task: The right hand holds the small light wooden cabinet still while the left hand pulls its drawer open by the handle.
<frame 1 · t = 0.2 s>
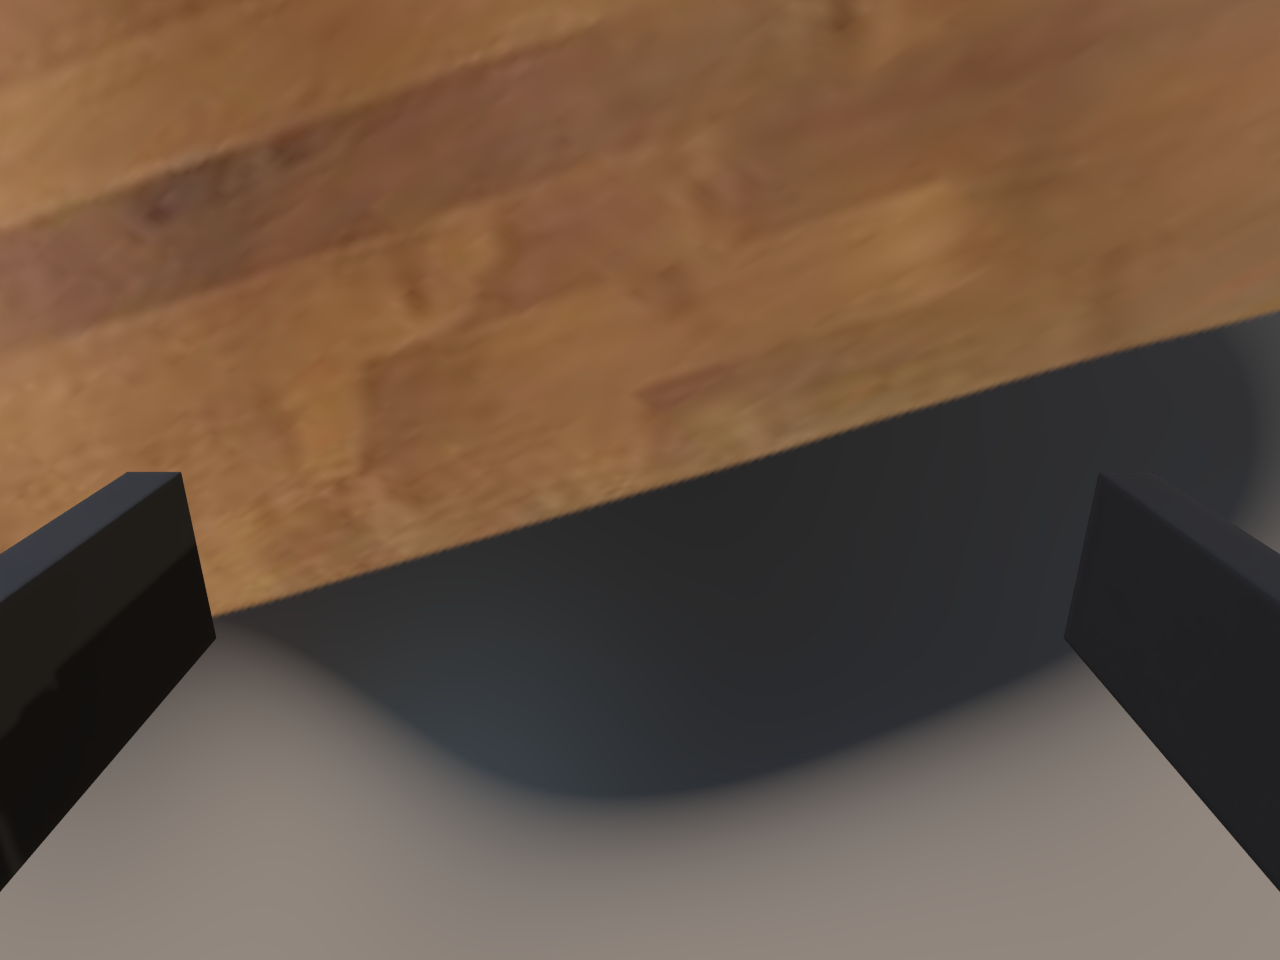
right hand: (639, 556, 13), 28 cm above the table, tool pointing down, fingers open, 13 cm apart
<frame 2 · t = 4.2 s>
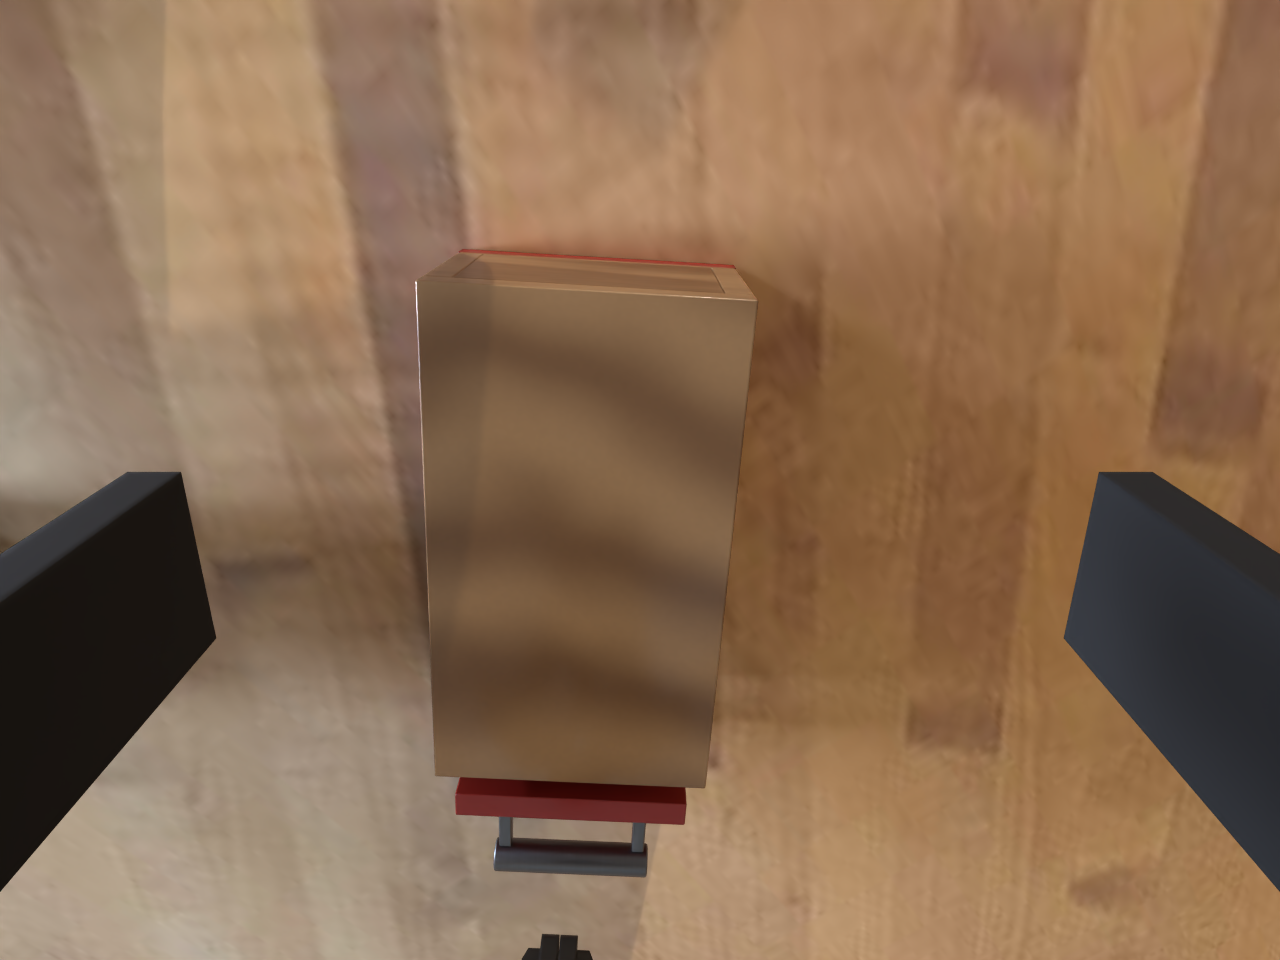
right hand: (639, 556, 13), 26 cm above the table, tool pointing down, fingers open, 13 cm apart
drawer: (579, 647, 38), point 4 cm above the table, slide at 1.8 cm
cabinet: (589, 483, 40), on the table
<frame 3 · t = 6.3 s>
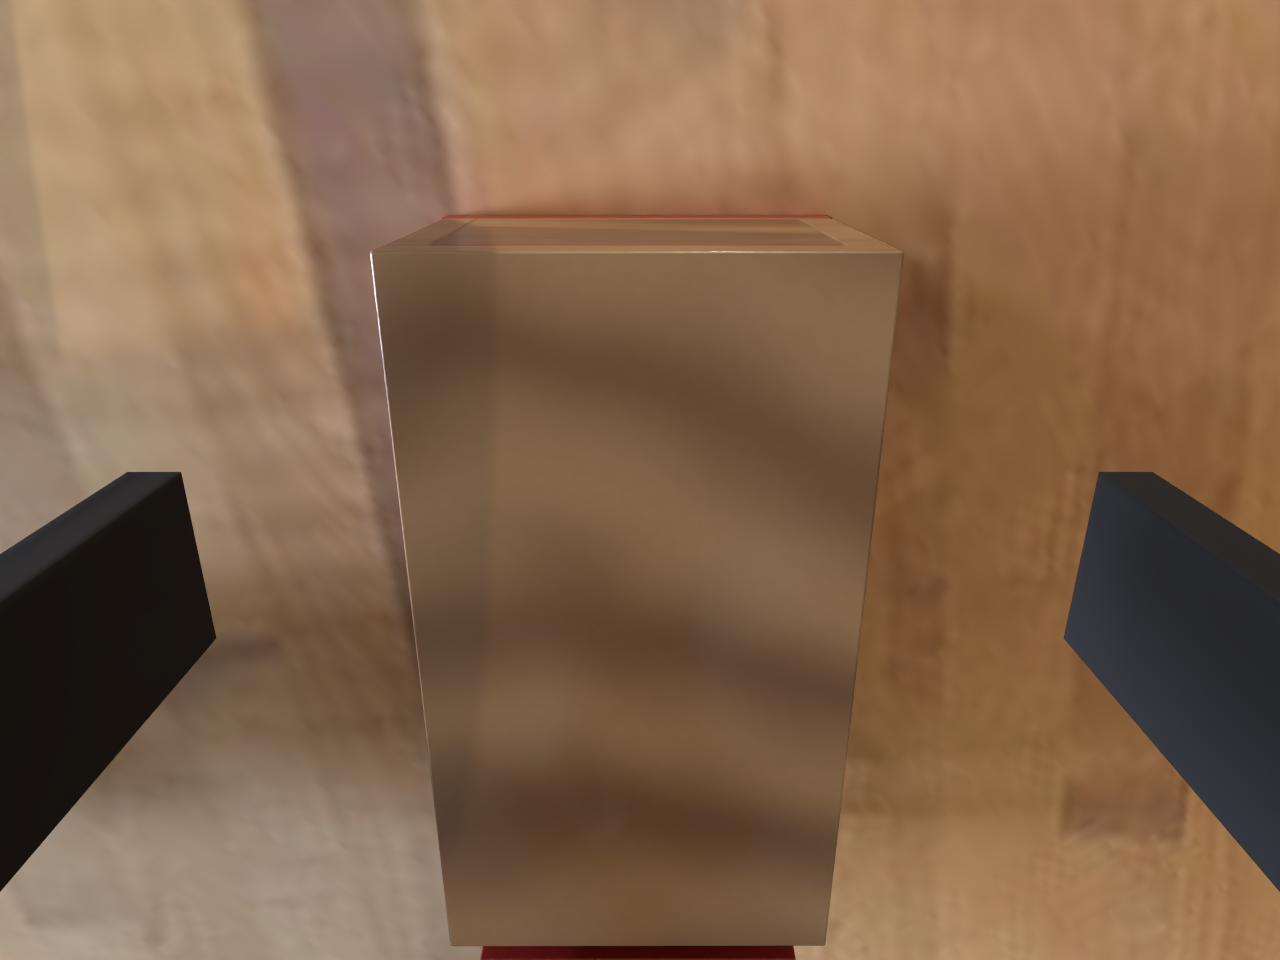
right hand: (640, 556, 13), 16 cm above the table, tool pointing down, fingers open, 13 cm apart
drawer: (637, 749, 28), point 4 cm above the table, slide at 1.8 cm
cabinet: (637, 524, 30), on the table
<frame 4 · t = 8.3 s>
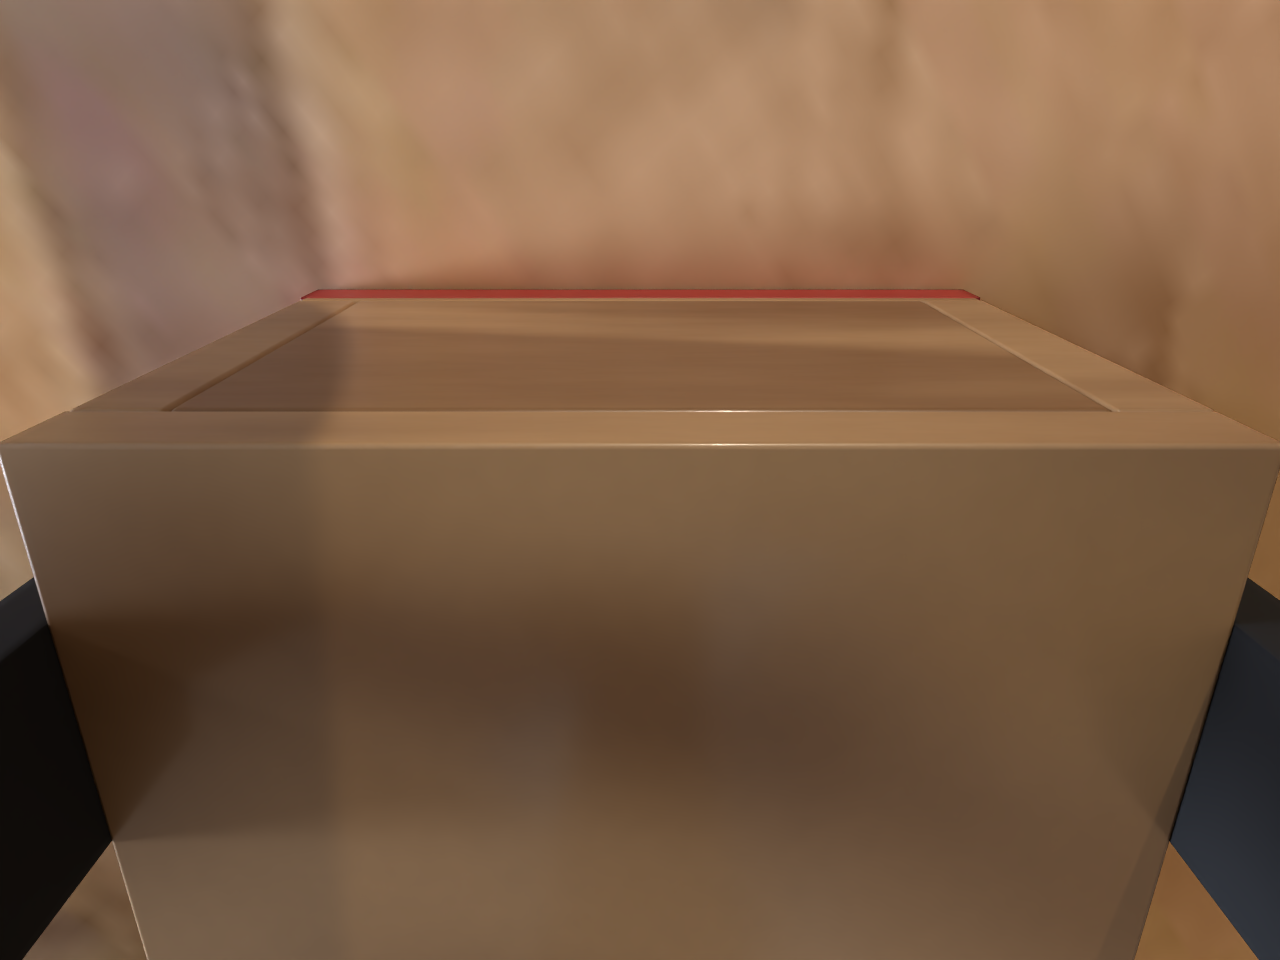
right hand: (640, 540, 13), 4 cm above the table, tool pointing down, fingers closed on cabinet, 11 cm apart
cabinet: (640, 760, 19), on the table, touching right hand
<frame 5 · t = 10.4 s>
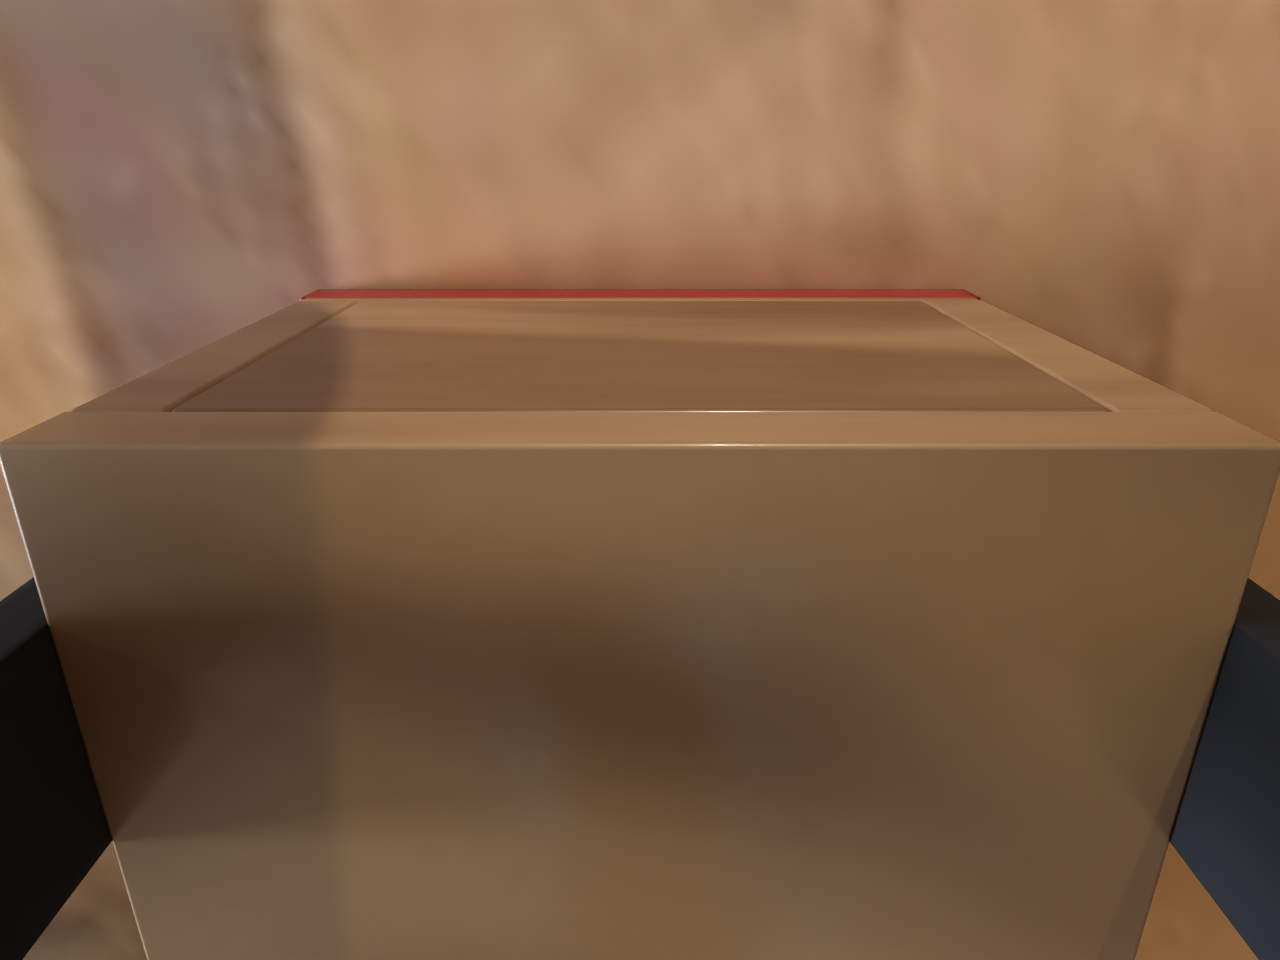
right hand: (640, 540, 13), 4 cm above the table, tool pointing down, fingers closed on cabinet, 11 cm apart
cabinet: (640, 760, 19), on the table, touching right hand
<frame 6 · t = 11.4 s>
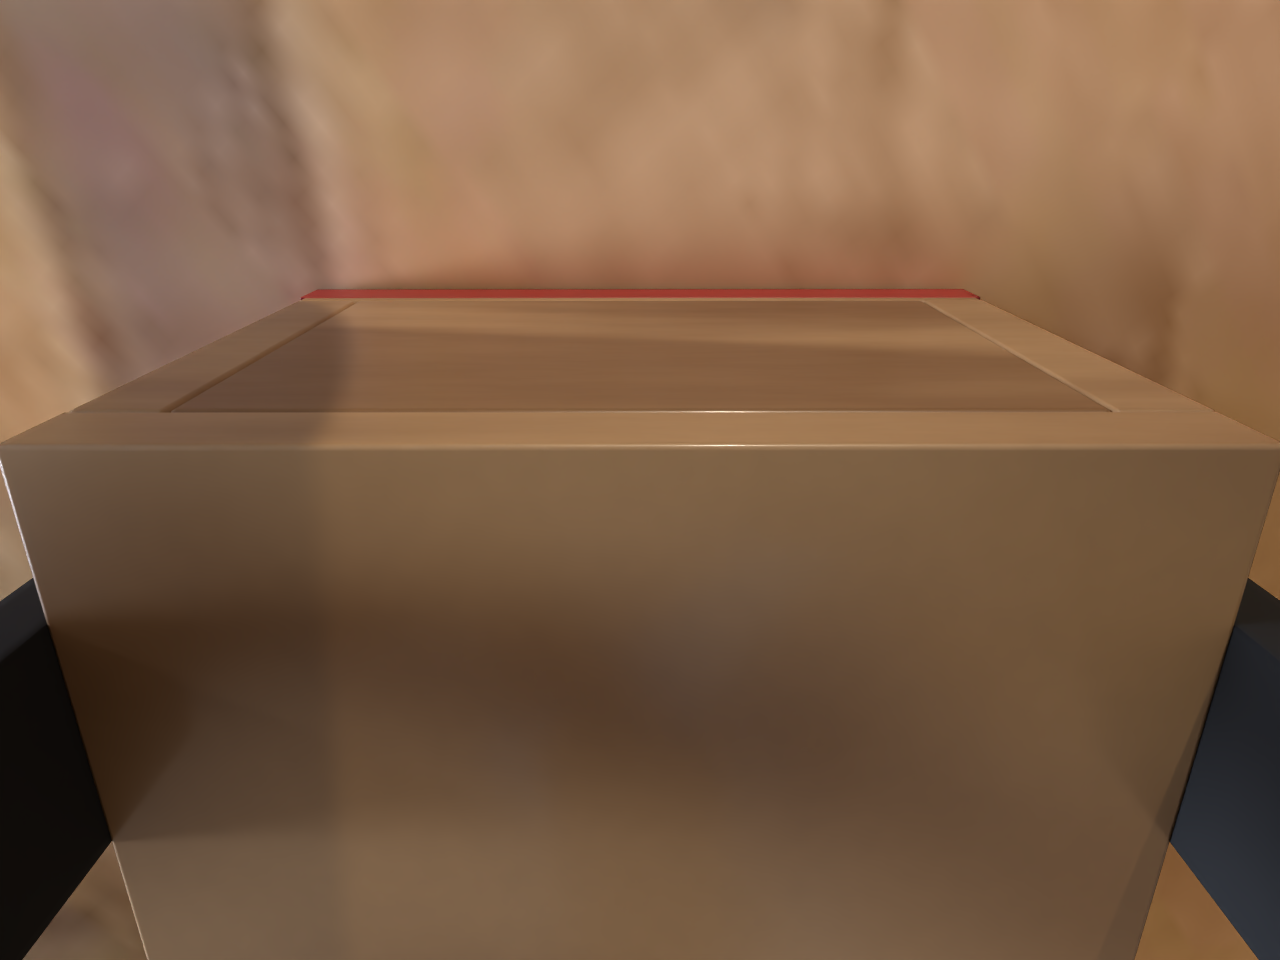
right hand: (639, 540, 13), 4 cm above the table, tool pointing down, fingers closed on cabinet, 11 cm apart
cabinet: (640, 759, 19), on the table, touching right hand
when the right hand's fingers open (4 cm above the table, at t = 13.0 s): cabinet stays where it is, on the table.
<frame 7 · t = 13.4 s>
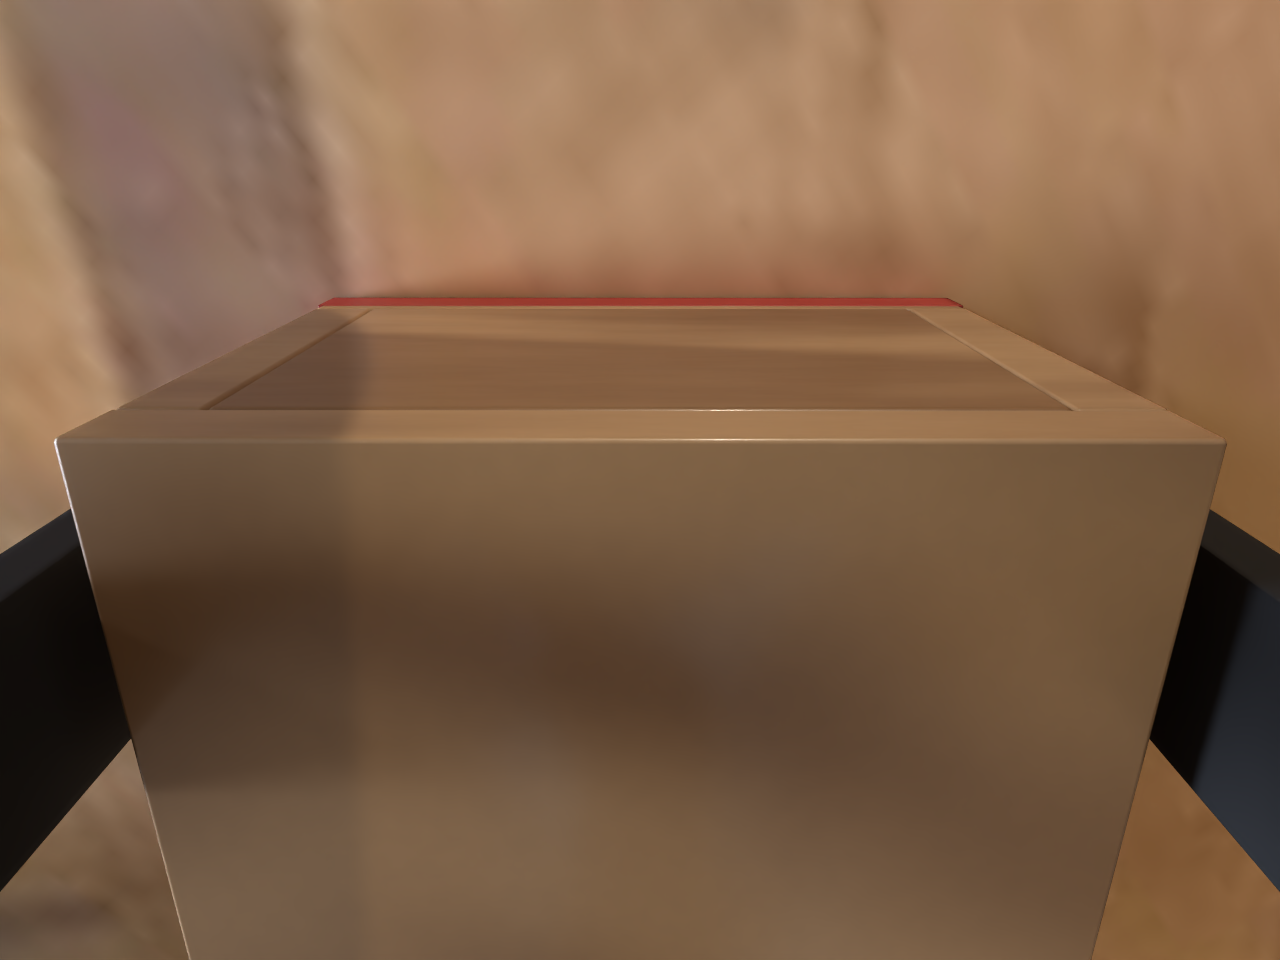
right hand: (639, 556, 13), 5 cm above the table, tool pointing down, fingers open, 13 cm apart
cabinet: (640, 750, 20), on the table
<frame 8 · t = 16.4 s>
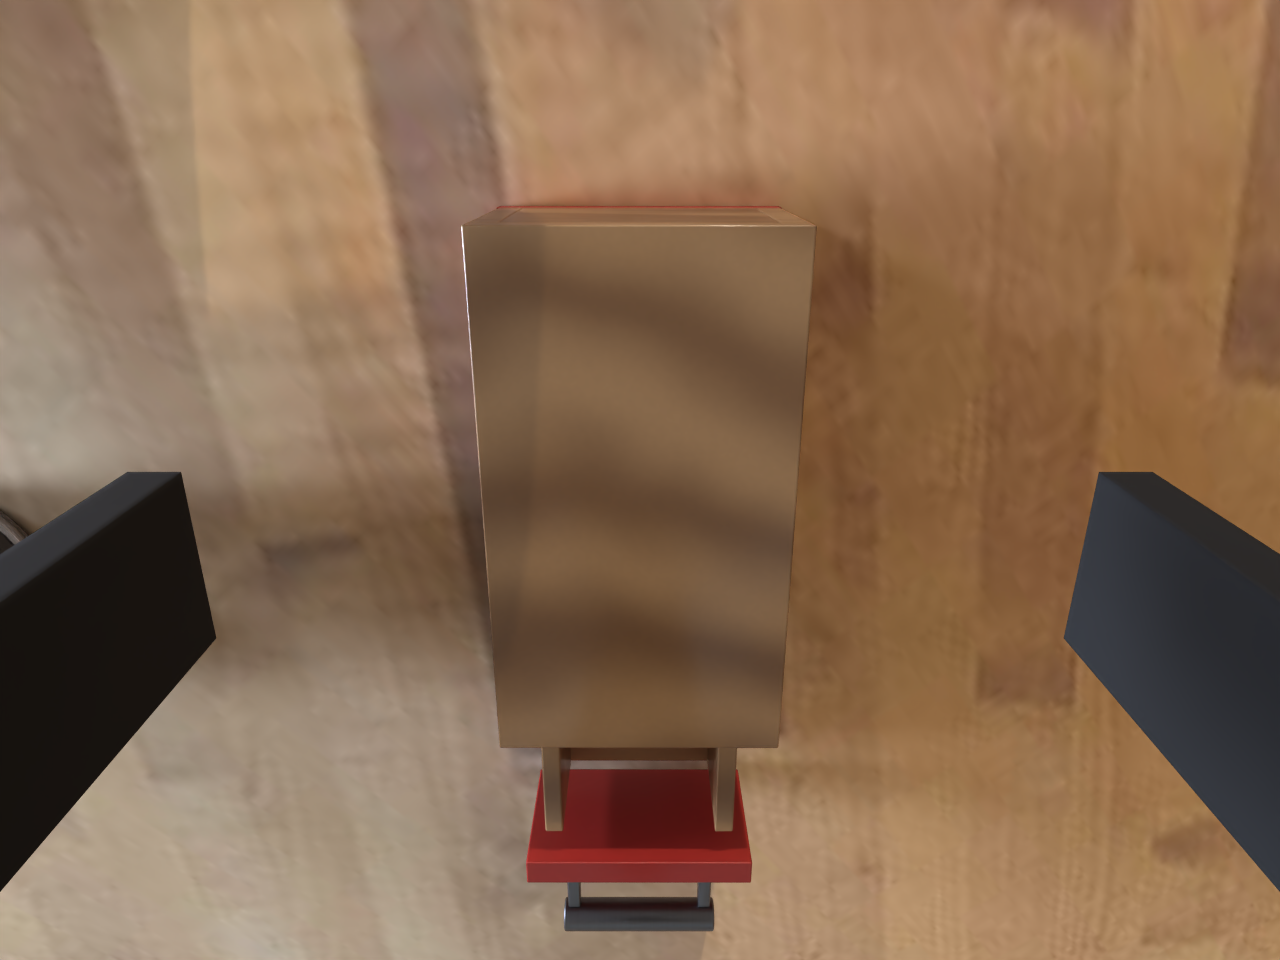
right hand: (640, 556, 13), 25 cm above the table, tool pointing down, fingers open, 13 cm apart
drawer: (639, 713, 39), point 4 cm above the table, slide at 7.2 cm
cabinet: (639, 444, 39), on the table
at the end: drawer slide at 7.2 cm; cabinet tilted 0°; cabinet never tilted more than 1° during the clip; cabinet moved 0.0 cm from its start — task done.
